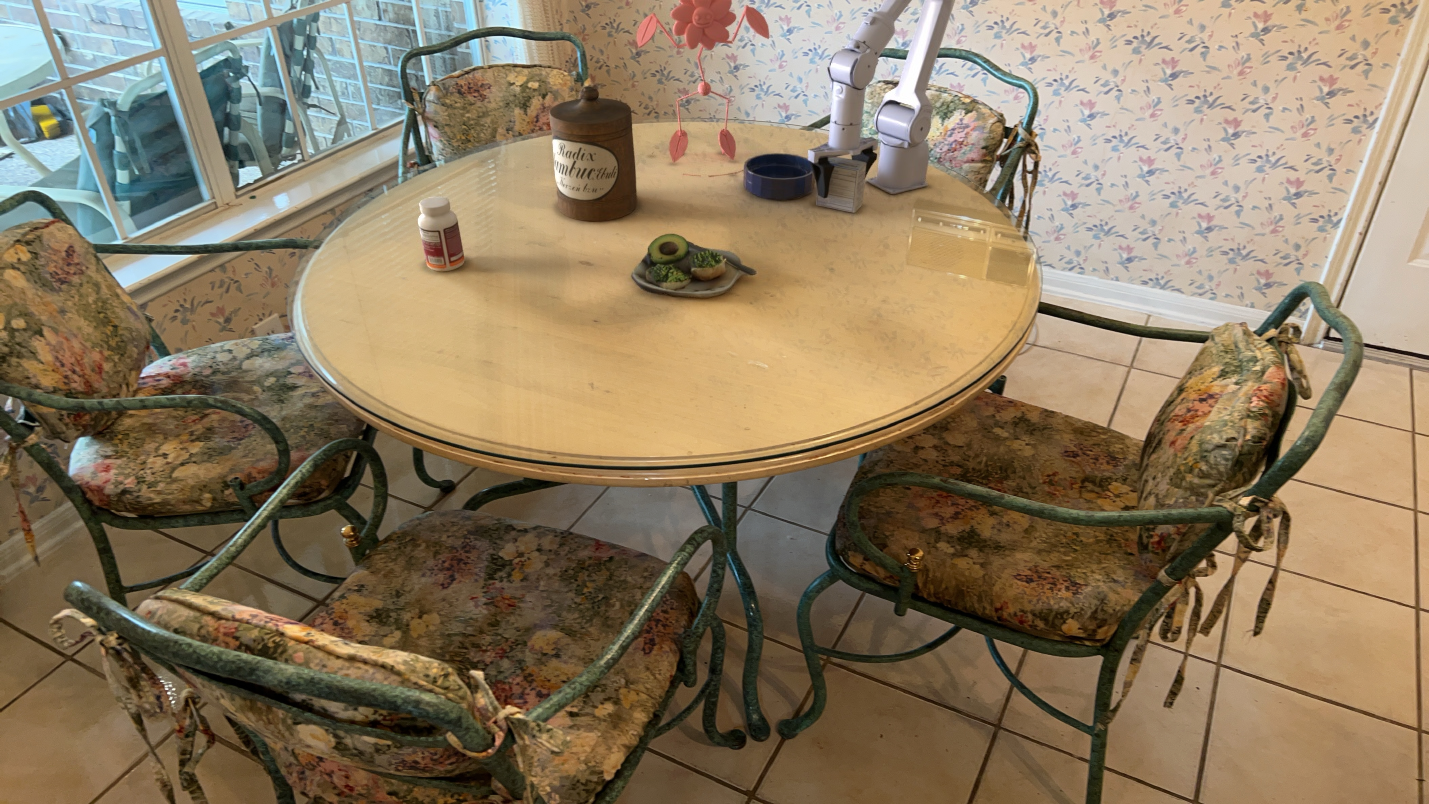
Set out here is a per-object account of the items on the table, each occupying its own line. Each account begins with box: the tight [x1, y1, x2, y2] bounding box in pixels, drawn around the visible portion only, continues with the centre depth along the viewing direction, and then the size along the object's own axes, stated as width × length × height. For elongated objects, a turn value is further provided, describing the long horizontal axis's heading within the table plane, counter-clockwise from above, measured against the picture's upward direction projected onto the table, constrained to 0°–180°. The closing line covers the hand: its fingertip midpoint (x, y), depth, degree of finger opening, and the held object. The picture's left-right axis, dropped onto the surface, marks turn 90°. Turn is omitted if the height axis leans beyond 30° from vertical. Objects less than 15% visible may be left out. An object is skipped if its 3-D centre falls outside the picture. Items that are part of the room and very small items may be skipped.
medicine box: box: [815, 156, 866, 214], centre depth 169 cm, size 8×4×9 cm, turn 62°
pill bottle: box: [417, 195, 465, 272], centre depth 147 cm, size 6×6×11 cm
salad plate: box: [630, 233, 758, 299], centre depth 146 cm, size 19×18×5 cm
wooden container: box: [548, 86, 638, 222], centre depth 164 cm, size 15×15×22 cm
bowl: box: [742, 152, 816, 201], centre depth 177 cm, size 14×14×4 cm
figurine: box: [636, 0, 770, 178], centre depth 178 cm, size 15×26×35 cm, turn 94°
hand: (839, 192), depth 170 cm, fingers closed on medicine box, 7 cm apart
